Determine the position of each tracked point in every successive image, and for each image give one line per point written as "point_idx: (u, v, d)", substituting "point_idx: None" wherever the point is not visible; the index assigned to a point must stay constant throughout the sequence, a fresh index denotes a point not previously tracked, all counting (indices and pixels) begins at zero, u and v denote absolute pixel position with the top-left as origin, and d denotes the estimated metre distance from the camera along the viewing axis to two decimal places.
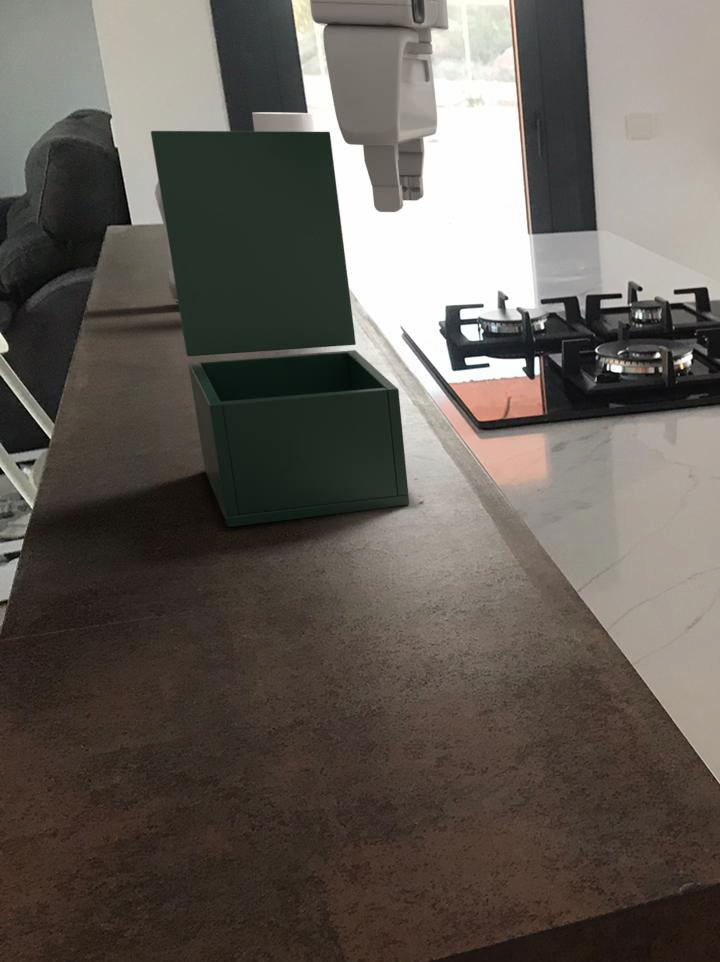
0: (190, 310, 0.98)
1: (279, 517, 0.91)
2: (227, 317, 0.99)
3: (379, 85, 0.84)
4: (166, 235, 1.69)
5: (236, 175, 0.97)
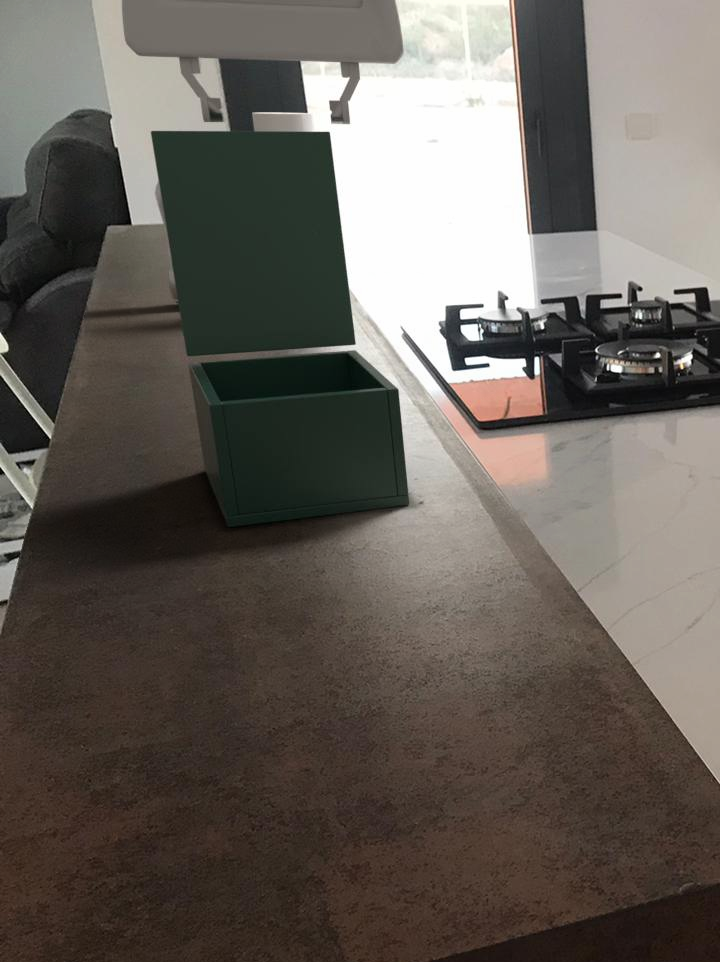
0: (190, 310, 0.98)
1: (279, 517, 0.91)
2: (227, 317, 0.99)
3: None
4: (166, 235, 1.69)
5: (236, 175, 0.97)
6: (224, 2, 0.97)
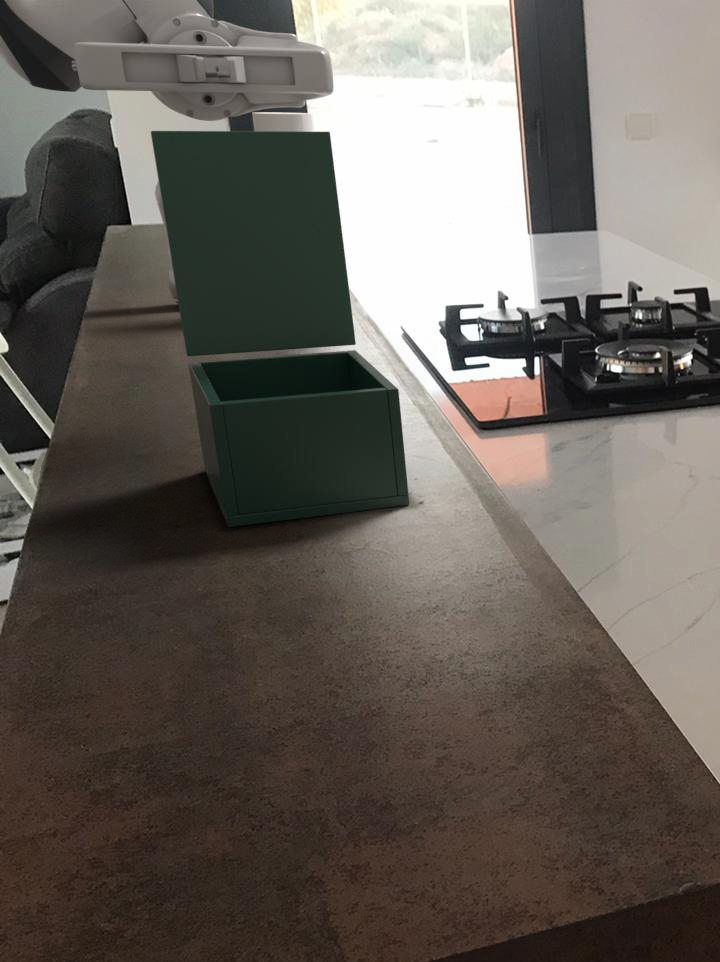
0: (190, 310, 0.98)
1: (279, 517, 0.91)
2: (227, 317, 0.99)
3: None
4: (166, 235, 1.69)
5: (236, 175, 0.97)
6: None
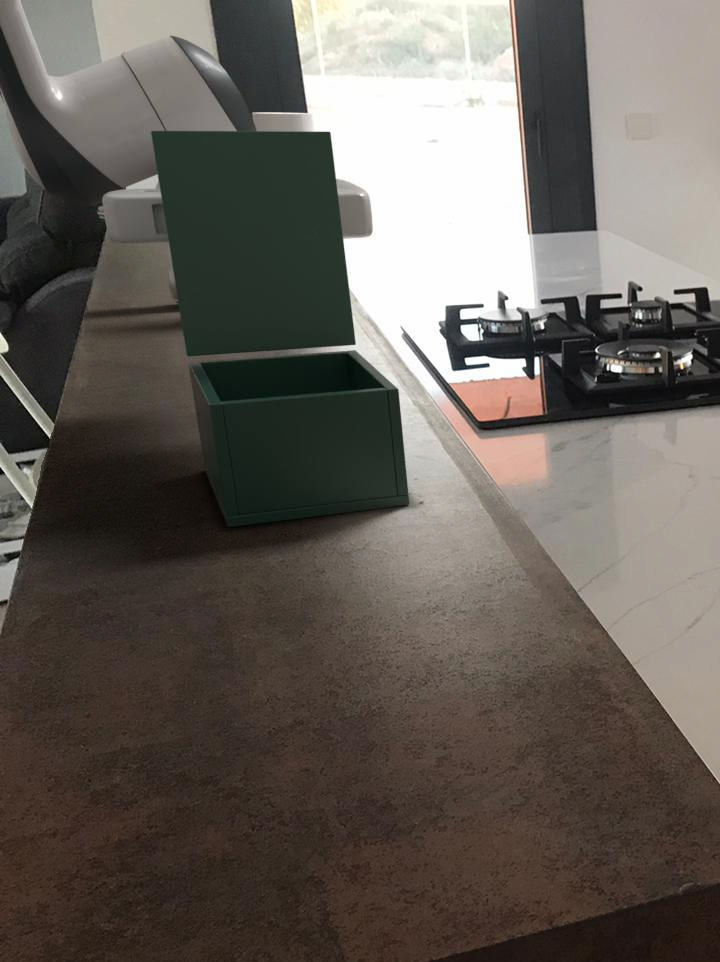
0: (190, 310, 0.98)
1: (279, 517, 0.91)
2: (227, 317, 0.99)
3: None
4: None
5: (237, 175, 0.97)
6: None
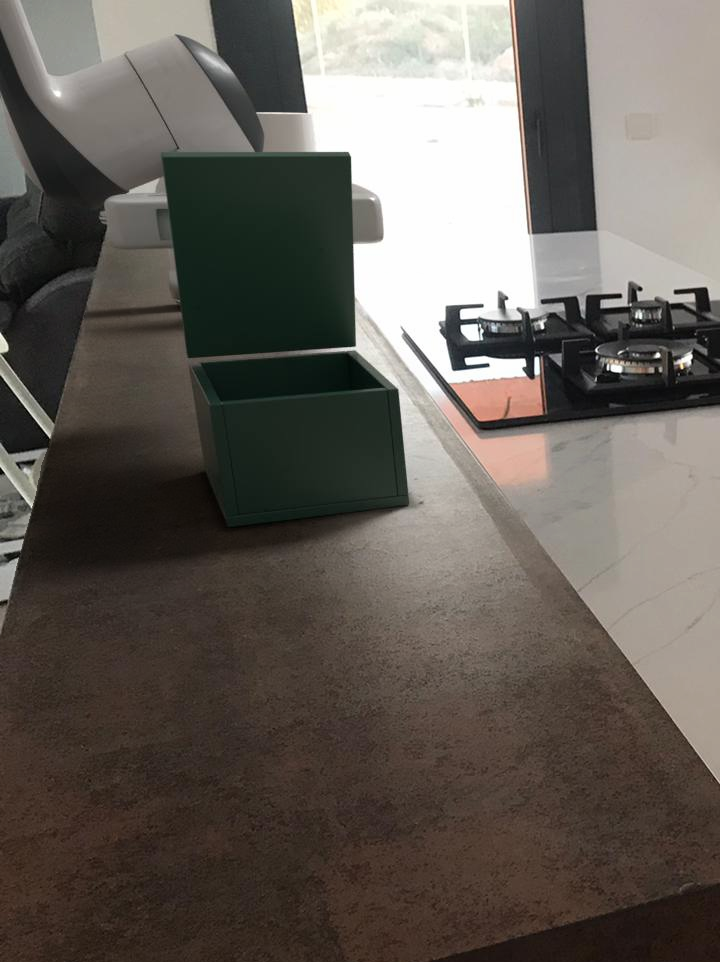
0: (193, 319, 0.97)
1: (279, 517, 0.91)
2: (230, 325, 0.99)
3: None
4: None
5: (249, 197, 0.93)
6: None
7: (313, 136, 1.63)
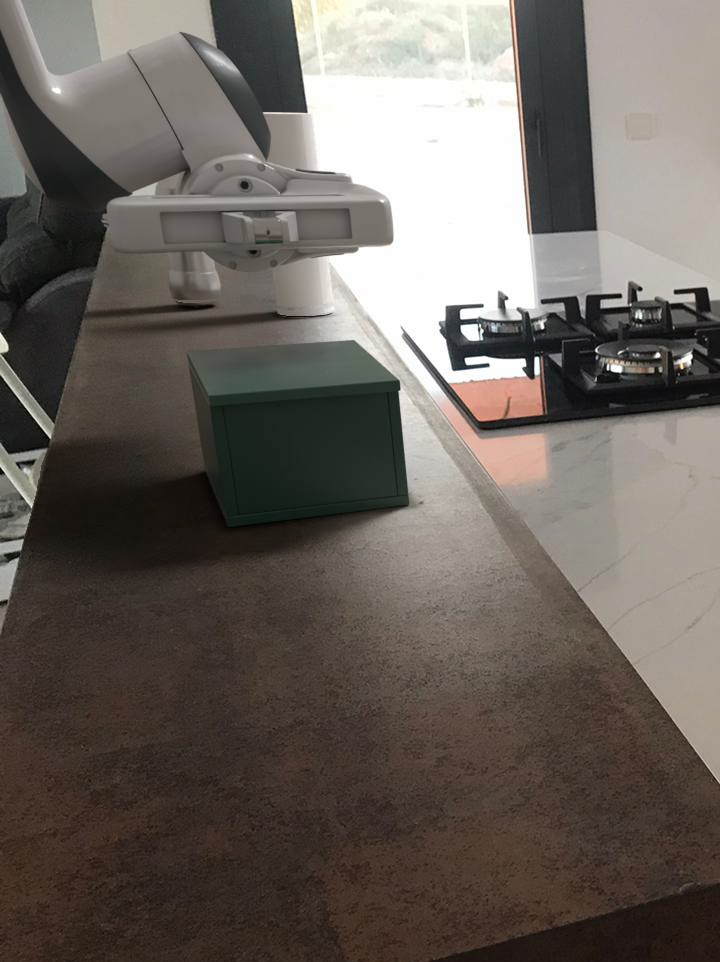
0: None
1: (279, 517, 0.91)
2: None
3: None
4: None
5: None
6: None
7: (313, 136, 1.63)
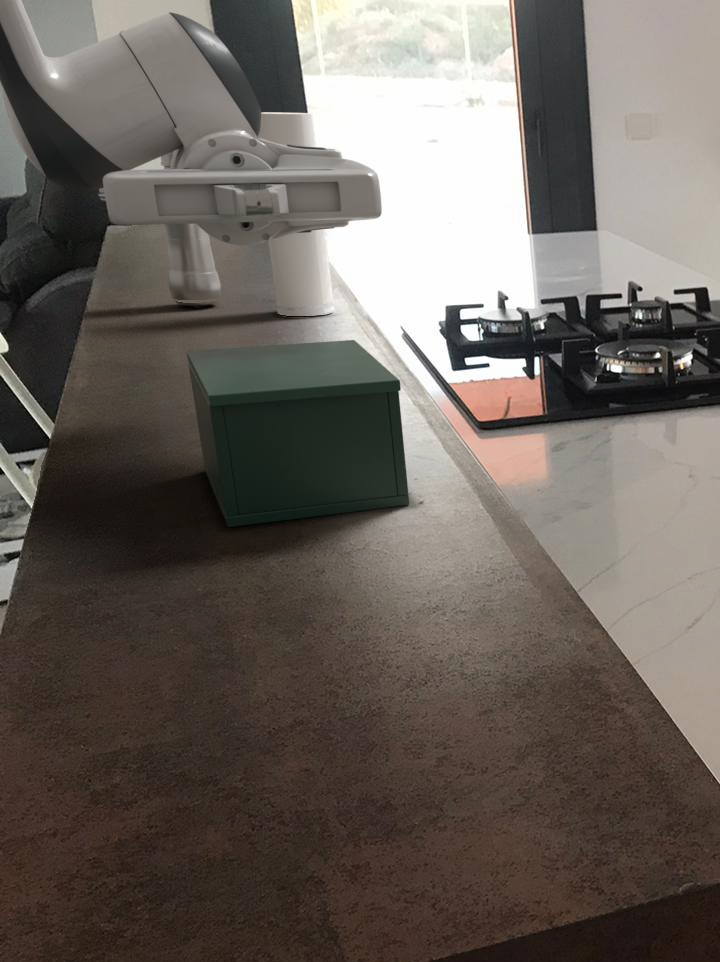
0: None
1: (279, 517, 0.91)
2: None
3: None
4: (166, 235, 1.69)
5: None
6: None
7: (313, 136, 1.63)
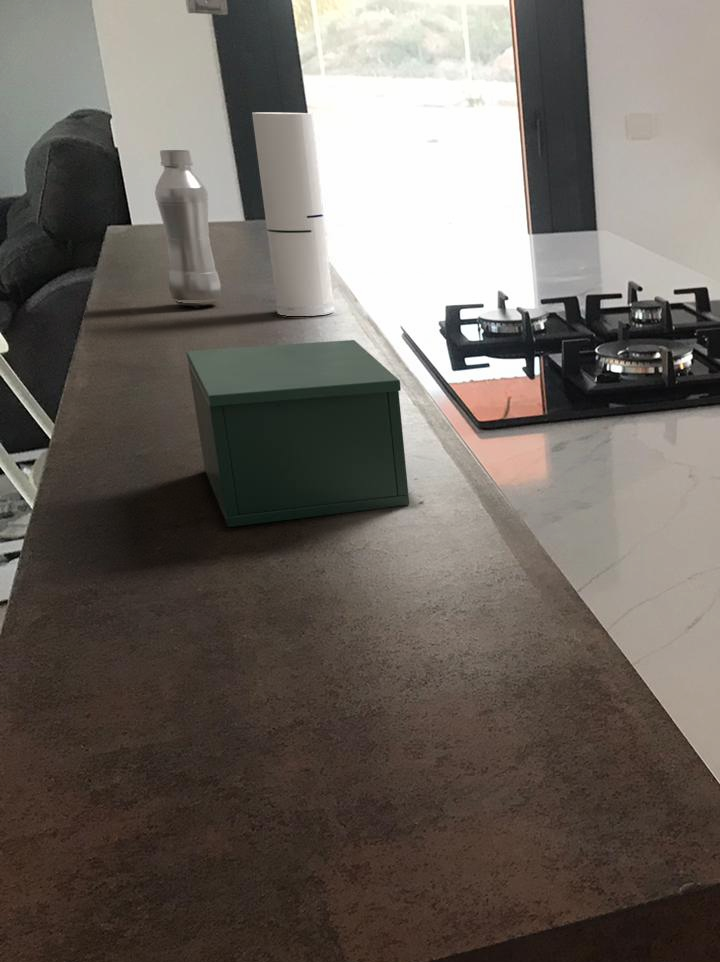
0: None
1: (279, 517, 0.91)
2: None
3: None
4: (166, 235, 1.69)
5: None
6: None
7: (313, 136, 1.63)
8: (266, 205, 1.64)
